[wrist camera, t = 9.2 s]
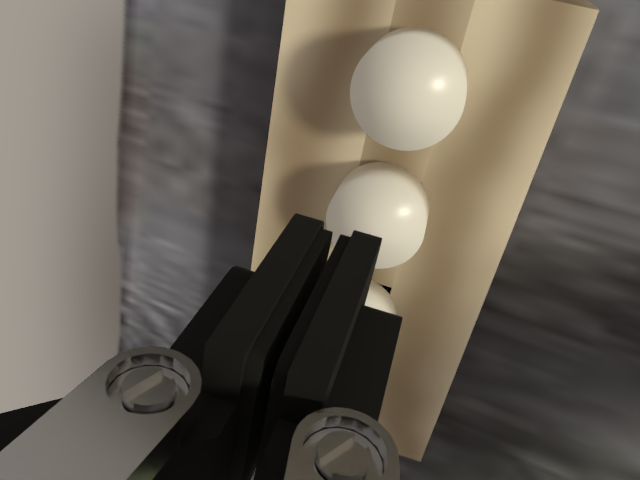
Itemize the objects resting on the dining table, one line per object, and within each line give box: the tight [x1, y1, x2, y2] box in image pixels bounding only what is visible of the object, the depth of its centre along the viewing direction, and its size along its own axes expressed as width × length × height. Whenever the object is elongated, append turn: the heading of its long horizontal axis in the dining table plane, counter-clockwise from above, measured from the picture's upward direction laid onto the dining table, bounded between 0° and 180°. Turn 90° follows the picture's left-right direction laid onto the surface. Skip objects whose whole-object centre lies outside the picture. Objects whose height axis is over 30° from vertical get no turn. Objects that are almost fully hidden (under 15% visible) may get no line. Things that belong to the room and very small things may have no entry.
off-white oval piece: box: [350, 26, 468, 151], centre depth 24 cm, size 4×4×5 cm
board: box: [251, 0, 599, 462], centre depth 31 cm, size 12×26×3 cm, turn 170°
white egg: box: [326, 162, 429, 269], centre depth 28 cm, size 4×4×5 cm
